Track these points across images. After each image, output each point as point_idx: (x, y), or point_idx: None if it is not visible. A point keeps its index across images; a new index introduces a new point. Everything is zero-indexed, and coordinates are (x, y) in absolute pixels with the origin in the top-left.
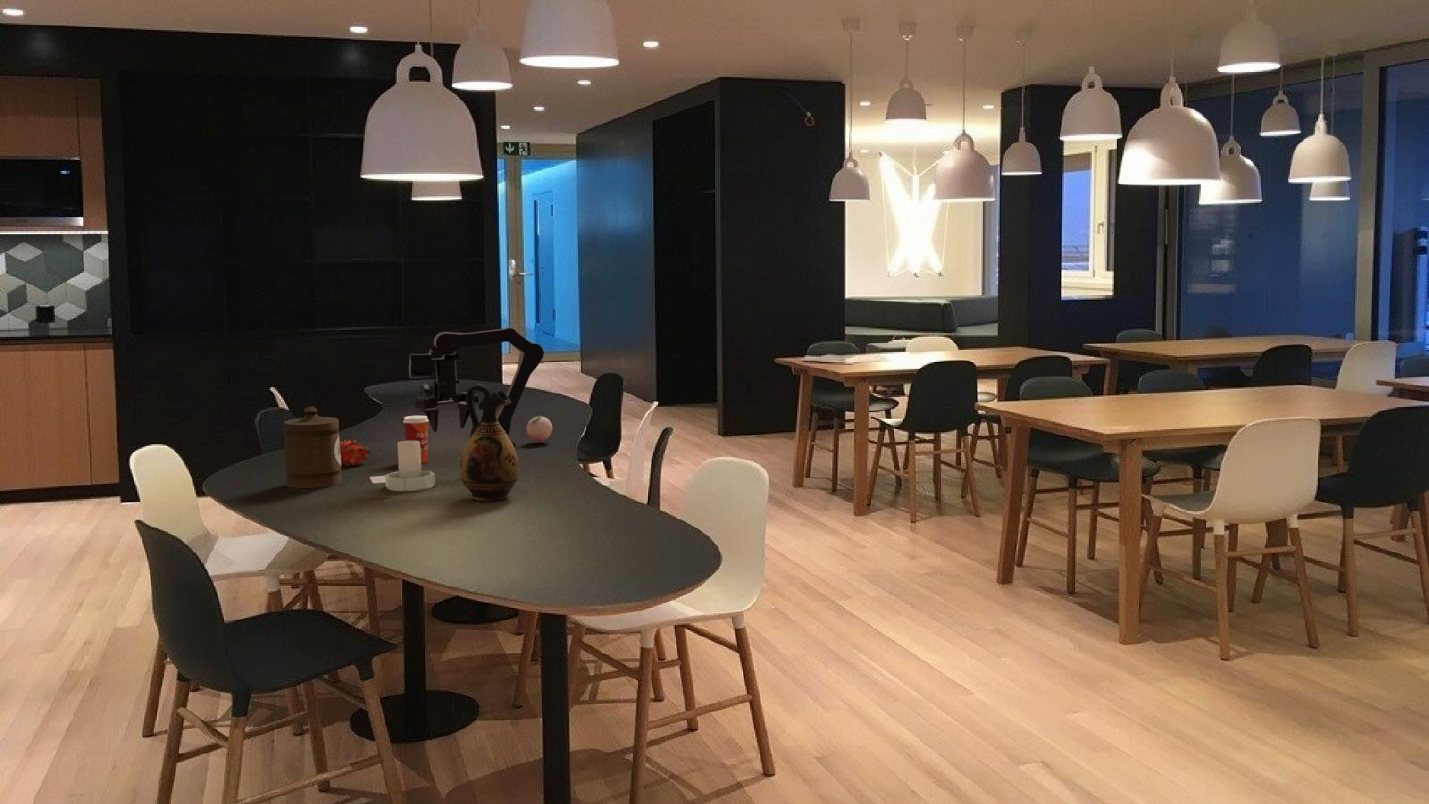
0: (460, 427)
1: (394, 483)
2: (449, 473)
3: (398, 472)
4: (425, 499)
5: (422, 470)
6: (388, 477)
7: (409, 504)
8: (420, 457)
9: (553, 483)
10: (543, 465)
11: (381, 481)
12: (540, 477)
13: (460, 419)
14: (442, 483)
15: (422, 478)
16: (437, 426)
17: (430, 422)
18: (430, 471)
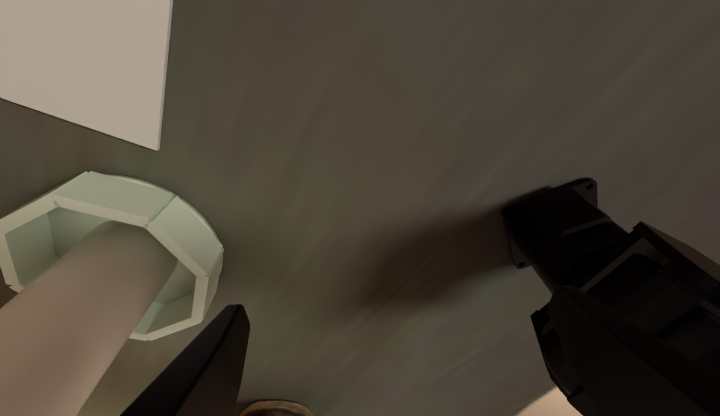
0: (558, 289)
1: None
2: (382, 116)
3: (61, 206)
4: (148, 369)
5: (178, 247)
6: (7, 274)
7: (100, 382)
8: (110, 363)
9: (462, 395)
10: (690, 238)
11: (11, 74)
12: (504, 348)
13: (630, 373)
14: (261, 258)
15: (145, 338)
16: (235, 396)
17: (139, 413)
18: (203, 281)
